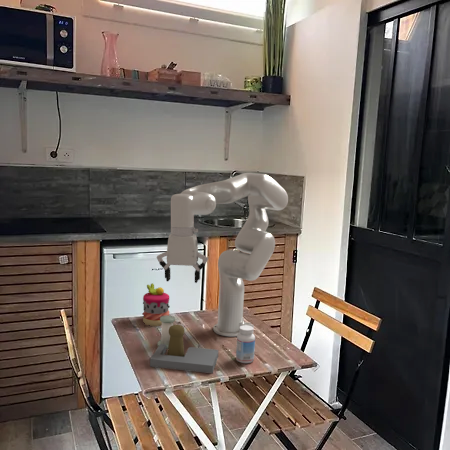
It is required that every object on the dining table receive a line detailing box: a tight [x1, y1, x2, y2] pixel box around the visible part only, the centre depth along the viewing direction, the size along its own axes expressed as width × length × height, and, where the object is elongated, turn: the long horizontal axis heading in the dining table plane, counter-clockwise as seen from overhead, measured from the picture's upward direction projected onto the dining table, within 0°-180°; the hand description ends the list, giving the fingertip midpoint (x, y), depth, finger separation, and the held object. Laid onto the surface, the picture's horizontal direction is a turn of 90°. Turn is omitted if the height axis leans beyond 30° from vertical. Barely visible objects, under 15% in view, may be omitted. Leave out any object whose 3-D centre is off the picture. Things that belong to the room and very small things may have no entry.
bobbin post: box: [157, 314, 176, 350], centre depth 160 cm, size 6×6×10 cm
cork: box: [166, 324, 185, 357], centre depth 151 cm, size 6×6×11 cm
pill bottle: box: [235, 325, 256, 364], centre depth 152 cm, size 6×6×11 cm
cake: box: [142, 282, 170, 327], centre depth 182 cm, size 10×11×15 cm
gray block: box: [149, 344, 219, 374], centre depth 149 cm, size 20×12×2 cm, turn 83°
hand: (182, 280), depth 155 cm, fingers open, 9 cm apart
